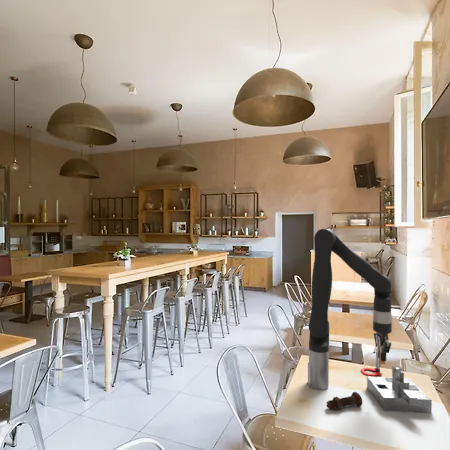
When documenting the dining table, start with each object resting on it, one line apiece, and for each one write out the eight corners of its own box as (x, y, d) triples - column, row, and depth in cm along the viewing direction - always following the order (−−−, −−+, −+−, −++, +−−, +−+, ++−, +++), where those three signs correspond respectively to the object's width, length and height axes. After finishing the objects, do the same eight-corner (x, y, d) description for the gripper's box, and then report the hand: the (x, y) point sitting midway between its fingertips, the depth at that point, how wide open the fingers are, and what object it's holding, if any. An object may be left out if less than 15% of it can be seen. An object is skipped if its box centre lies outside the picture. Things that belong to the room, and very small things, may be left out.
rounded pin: (385, 364, 143) (385, 341, 143) (380, 364, 143) (380, 341, 143) (383, 362, 145) (383, 339, 145) (378, 361, 145) (378, 339, 145)
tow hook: (364, 377, 166) (383, 377, 165) (363, 351, 166) (381, 351, 165) (358, 370, 174) (376, 369, 174) (357, 345, 174) (375, 345, 174)
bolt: (327, 413, 136) (357, 406, 140) (333, 413, 132) (364, 406, 136) (322, 397, 139) (352, 391, 143) (328, 397, 134) (359, 391, 139)
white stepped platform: (388, 417, 130) (389, 382, 130) (367, 387, 154) (367, 358, 154) (438, 420, 128) (438, 384, 128) (408, 389, 152) (409, 359, 152)
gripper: (398, 325, 137) (397, 366, 137) (384, 316, 151) (384, 353, 151) (379, 325, 137) (379, 366, 137) (367, 316, 151) (367, 353, 151)
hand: (382, 359), depth 144 cm, fingers closed on rounded pin, 2 cm apart
